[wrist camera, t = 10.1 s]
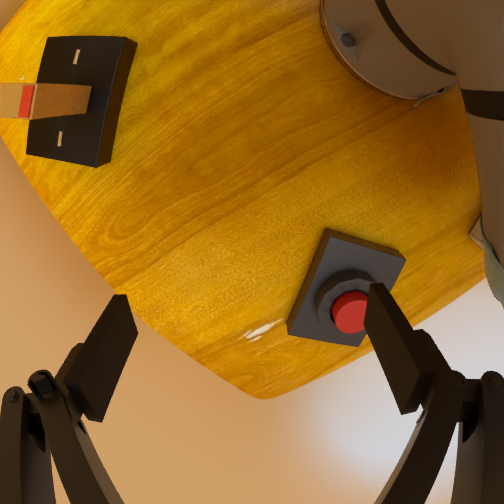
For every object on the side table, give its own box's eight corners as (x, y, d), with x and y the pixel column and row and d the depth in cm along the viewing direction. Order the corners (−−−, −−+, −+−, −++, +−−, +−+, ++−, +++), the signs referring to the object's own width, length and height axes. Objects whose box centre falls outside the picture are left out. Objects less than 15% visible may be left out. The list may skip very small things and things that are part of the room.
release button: (341, 286, 29) (346, 296, 27) (375, 294, 29) (381, 304, 28) (325, 319, 30) (328, 330, 29) (358, 325, 31) (363, 336, 29)
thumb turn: (45, 108, 22) (-14, 116, 14) (50, 83, 21) (-9, 83, 13) (86, 113, 22) (29, 120, 15) (92, 86, 21) (35, 83, 14)
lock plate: (63, 40, 21) (46, 36, 18) (137, 43, 22) (125, 36, 19) (41, 149, 26) (24, 154, 23) (110, 162, 27) (96, 168, 24)
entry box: (325, 227, 30) (334, 244, 26) (398, 250, 31) (414, 267, 27) (286, 322, 35) (289, 346, 31) (354, 335, 36) (362, 357, 32)
